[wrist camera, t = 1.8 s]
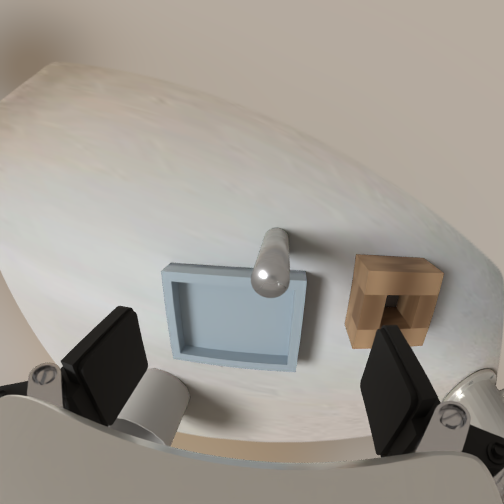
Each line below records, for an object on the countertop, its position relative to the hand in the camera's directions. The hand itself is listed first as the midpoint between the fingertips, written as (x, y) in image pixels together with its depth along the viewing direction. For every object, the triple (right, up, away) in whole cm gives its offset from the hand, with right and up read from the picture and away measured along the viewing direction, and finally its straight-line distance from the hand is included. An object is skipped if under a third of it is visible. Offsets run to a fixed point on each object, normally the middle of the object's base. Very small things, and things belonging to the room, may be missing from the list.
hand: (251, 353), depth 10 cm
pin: (+2, +5, +17) cm, 17 cm away
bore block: (+14, -1, +17) cm, 22 cm away
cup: (-13, -16, +25) cm, 33 cm away
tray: (-2, -3, +19) cm, 20 cm away
